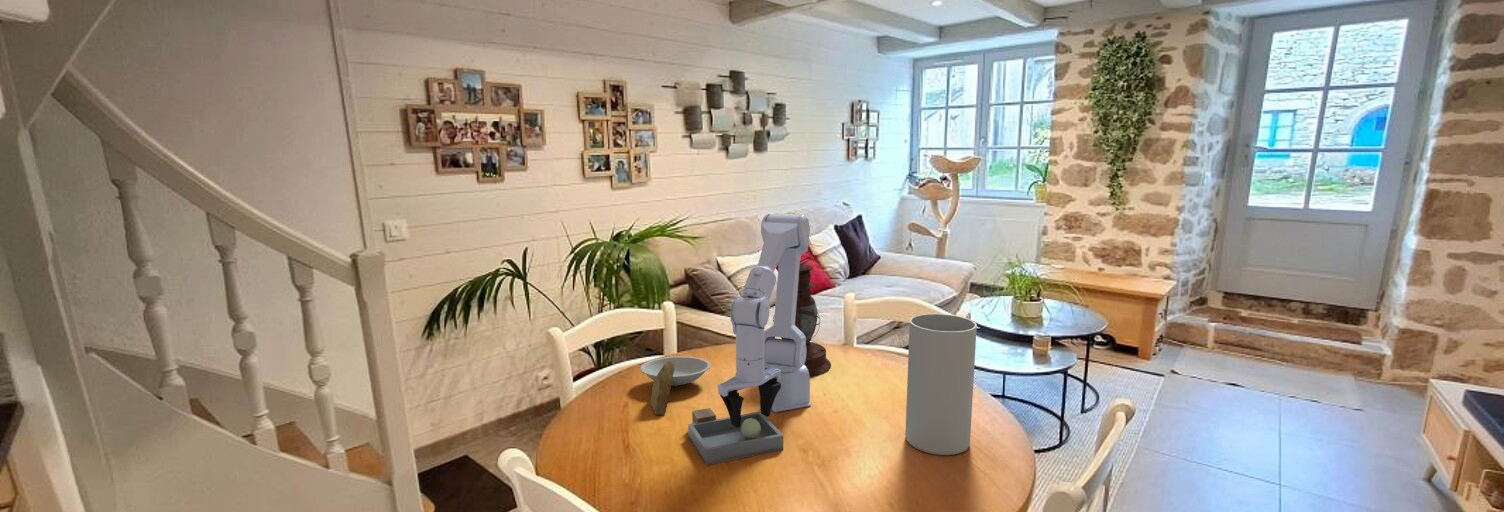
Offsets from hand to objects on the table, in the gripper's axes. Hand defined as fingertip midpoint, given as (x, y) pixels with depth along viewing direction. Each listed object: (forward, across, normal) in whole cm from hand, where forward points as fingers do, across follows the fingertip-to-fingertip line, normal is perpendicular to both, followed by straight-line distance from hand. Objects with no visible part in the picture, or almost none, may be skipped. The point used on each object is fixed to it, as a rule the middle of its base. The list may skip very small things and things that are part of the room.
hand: (750, 420), depth 125 cm
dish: (+5, -3, -35) cm, 36 cm away
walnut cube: (+4, +5, -10) cm, 12 cm away
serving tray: (+4, +3, -1) cm, 6 cm away
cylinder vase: (+5, -29, +24) cm, 38 cm away
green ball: (+4, 0, 0) cm, 4 cm away
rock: (+5, +6, -27) cm, 28 cm away
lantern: (+5, -36, -27) cm, 46 cm away
